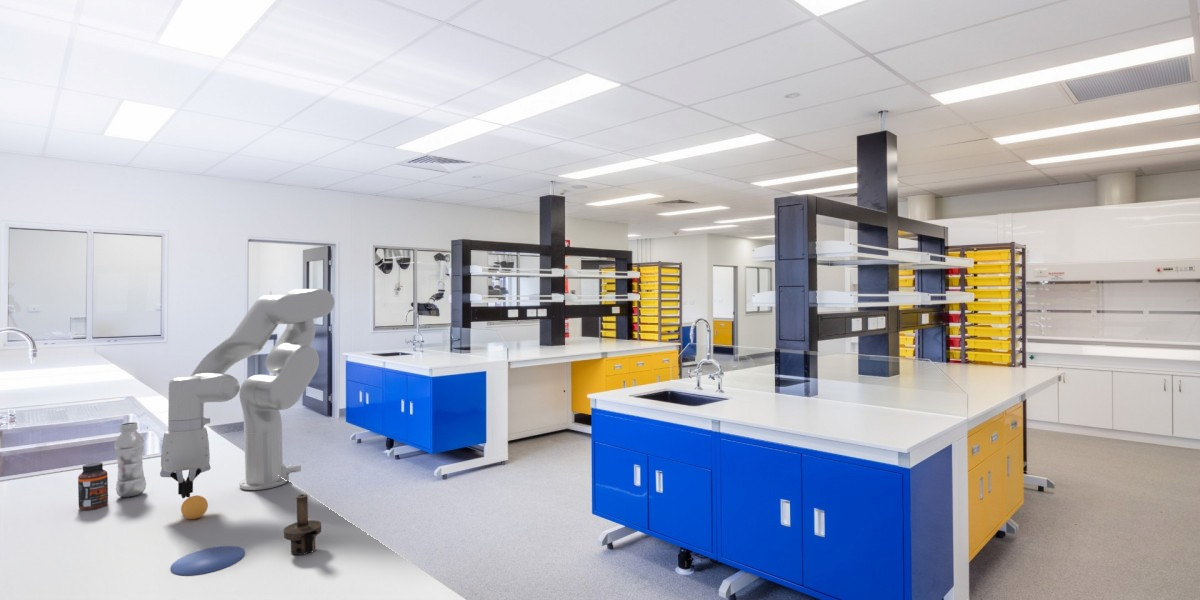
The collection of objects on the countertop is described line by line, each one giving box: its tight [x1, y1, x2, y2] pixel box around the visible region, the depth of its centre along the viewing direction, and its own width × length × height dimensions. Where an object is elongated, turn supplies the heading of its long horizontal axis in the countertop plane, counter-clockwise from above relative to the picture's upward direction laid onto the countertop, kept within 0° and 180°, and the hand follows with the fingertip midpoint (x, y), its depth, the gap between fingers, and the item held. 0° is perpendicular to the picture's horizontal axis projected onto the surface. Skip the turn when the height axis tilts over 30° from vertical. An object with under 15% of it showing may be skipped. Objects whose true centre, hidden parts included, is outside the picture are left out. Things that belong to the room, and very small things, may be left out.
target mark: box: [169, 545, 246, 576], centre depth 126 cm, size 13×13×1 cm
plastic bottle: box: [114, 421, 147, 498], centre depth 166 cm, size 6×7×20 cm
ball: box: [180, 495, 209, 520], centre depth 149 cm, size 6×6×6 cm
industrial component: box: [283, 493, 322, 555], centre depth 130 cm, size 9×7×12 cm
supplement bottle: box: [77, 461, 109, 511], centre depth 158 cm, size 6×6×11 cm
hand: (185, 496), depth 156 cm, fingers closed
